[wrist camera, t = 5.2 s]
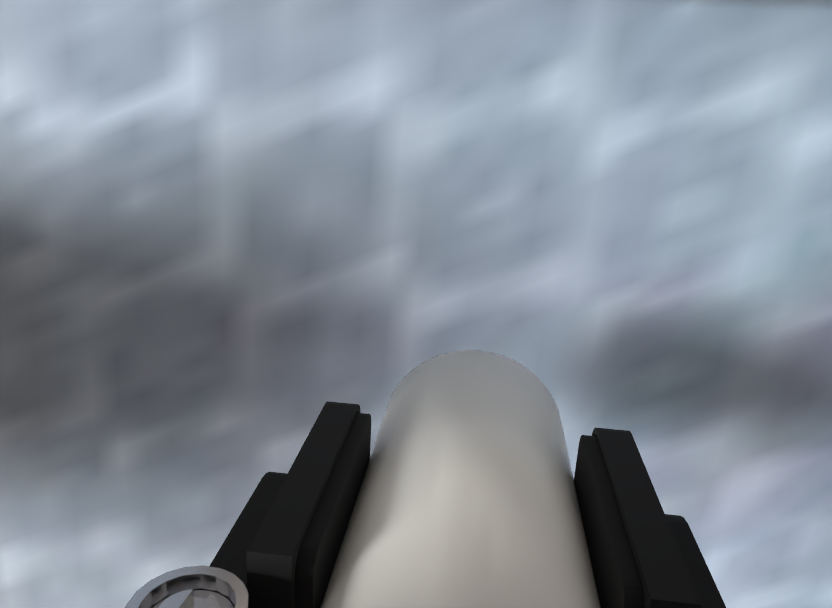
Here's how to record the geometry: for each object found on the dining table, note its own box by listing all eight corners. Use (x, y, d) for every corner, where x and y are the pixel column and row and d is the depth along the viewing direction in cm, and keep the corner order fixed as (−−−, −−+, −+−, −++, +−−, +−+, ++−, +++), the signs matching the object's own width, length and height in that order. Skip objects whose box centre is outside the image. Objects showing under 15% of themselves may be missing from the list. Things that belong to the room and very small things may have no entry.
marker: (572, 358, 13) (743, 918, 4) (550, 518, 14) (652, 1231, 5) (387, 342, 13) (183, 832, 4) (380, 500, 14) (205, 1143, 5)
